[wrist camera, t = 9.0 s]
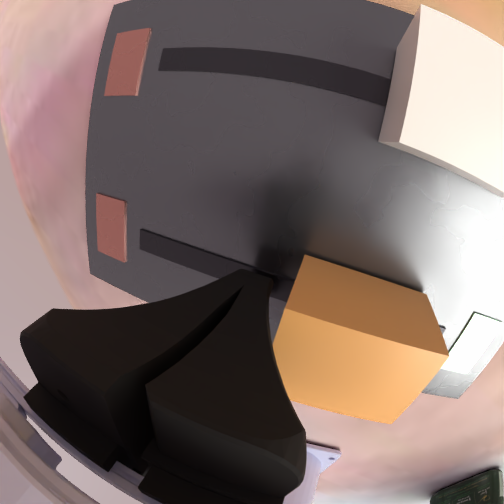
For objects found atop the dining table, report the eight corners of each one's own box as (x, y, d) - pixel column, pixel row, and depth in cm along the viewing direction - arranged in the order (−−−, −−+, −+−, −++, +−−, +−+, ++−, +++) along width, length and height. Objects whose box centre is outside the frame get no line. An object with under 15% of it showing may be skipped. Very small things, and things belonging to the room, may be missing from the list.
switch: (498, 195, 7) (552, 225, 4) (377, 141, 8) (398, 142, 5) (516, 108, 5) (573, 106, 2) (397, 47, 6) (421, 3, 3)
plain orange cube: (387, 359, 11) (390, 424, 8) (281, 327, 12) (256, 389, 8) (426, 294, 9) (449, 356, 6) (304, 254, 10) (285, 307, 7)
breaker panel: (453, 380, 12) (458, 400, 10) (106, 263, 16) (89, 274, 15) (562, 125, 5) (580, 127, 4) (132, 11, 9) (112, 4, 8)
